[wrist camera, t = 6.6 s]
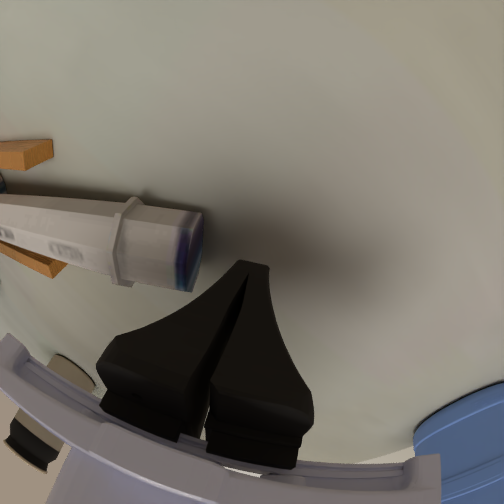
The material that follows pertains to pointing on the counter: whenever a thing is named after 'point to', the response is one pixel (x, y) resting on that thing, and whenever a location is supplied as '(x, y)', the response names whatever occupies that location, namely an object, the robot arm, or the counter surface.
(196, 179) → the counter surface
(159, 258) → the electric toothbrush
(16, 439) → the travel mug
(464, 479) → the water jug
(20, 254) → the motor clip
